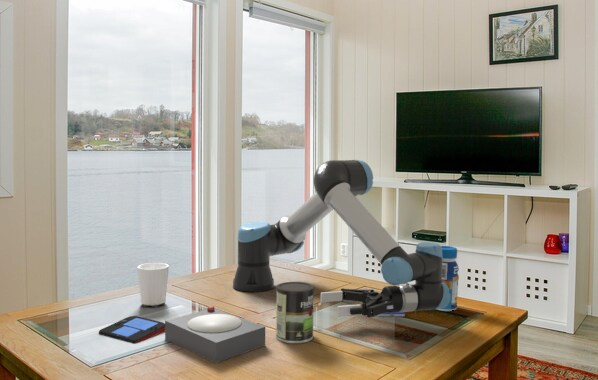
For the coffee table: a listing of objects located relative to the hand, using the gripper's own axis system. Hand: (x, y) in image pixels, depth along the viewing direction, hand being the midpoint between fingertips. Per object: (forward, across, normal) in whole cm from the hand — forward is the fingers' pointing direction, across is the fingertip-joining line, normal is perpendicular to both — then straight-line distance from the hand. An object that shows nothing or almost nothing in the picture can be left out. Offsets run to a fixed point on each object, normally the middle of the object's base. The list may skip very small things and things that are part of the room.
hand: (328, 304), depth 145 cm
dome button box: (+31, -2, +8) cm, 33 cm away
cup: (+46, -39, +8) cm, 61 cm away
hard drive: (-26, -16, +9) cm, 32 cm away
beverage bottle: (-45, -13, +9) cm, 48 cm away
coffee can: (+10, 0, +9) cm, 13 cm away
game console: (+52, -15, +9) cm, 55 cm away
